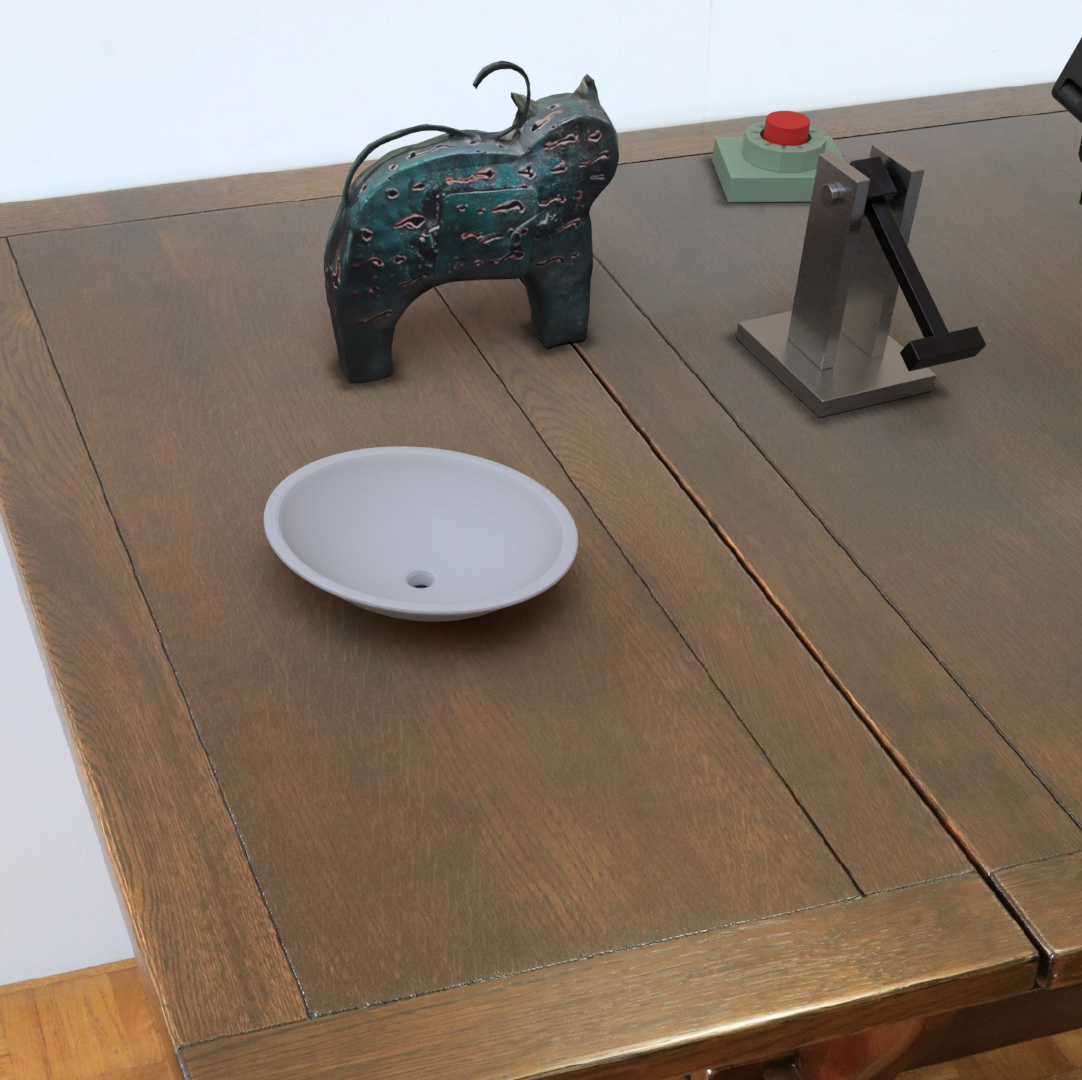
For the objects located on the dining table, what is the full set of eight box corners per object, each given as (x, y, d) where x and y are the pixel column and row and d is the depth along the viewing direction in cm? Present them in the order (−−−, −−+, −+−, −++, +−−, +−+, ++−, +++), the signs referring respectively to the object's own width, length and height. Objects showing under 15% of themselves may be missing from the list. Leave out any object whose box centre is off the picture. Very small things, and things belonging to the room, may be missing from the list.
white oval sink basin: (223, 633, 84) (214, 563, 80) (331, 489, 94) (327, 421, 90) (526, 714, 79) (530, 643, 76) (605, 554, 89) (611, 485, 86)
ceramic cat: (583, 307, 111) (602, 32, 98) (620, 351, 106) (645, 68, 93) (321, 354, 106) (304, 69, 93) (348, 402, 101) (334, 109, 88)
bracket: (932, 391, 103) (983, 185, 93) (819, 418, 100) (859, 209, 91) (843, 314, 111) (881, 117, 101) (735, 337, 108) (764, 137, 98)
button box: (827, 160, 131) (835, 115, 128) (848, 201, 125) (857, 155, 122) (711, 161, 130) (717, 115, 128) (727, 202, 124) (733, 156, 122)
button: (802, 130, 127) (805, 110, 125) (811, 148, 124) (814, 128, 123) (759, 130, 126) (762, 110, 125) (767, 149, 124) (770, 128, 123)
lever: (971, 360, 95) (991, 341, 93) (904, 376, 94) (923, 356, 92) (882, 175, 99) (898, 152, 97) (816, 187, 98) (832, 164, 96)
